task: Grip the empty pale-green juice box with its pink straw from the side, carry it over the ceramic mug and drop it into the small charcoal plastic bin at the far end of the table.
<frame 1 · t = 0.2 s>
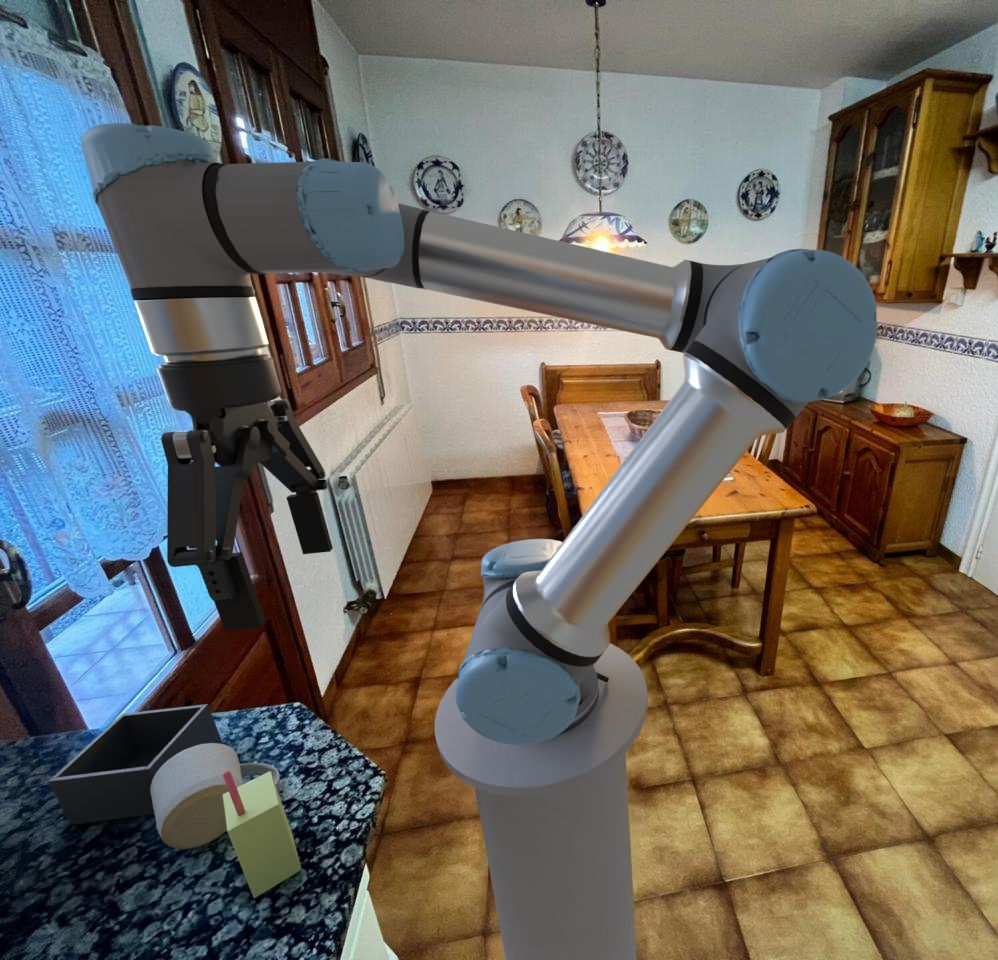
hand: (286, 584, 49), 29 cm above the worktop, tool pointing down, fingers open, 13 cm apart
juice box: (274, 864, 53), on the worktop
bin: (153, 781, 63), on the worktop
ceramic mug: (225, 811, 59), on the worktop
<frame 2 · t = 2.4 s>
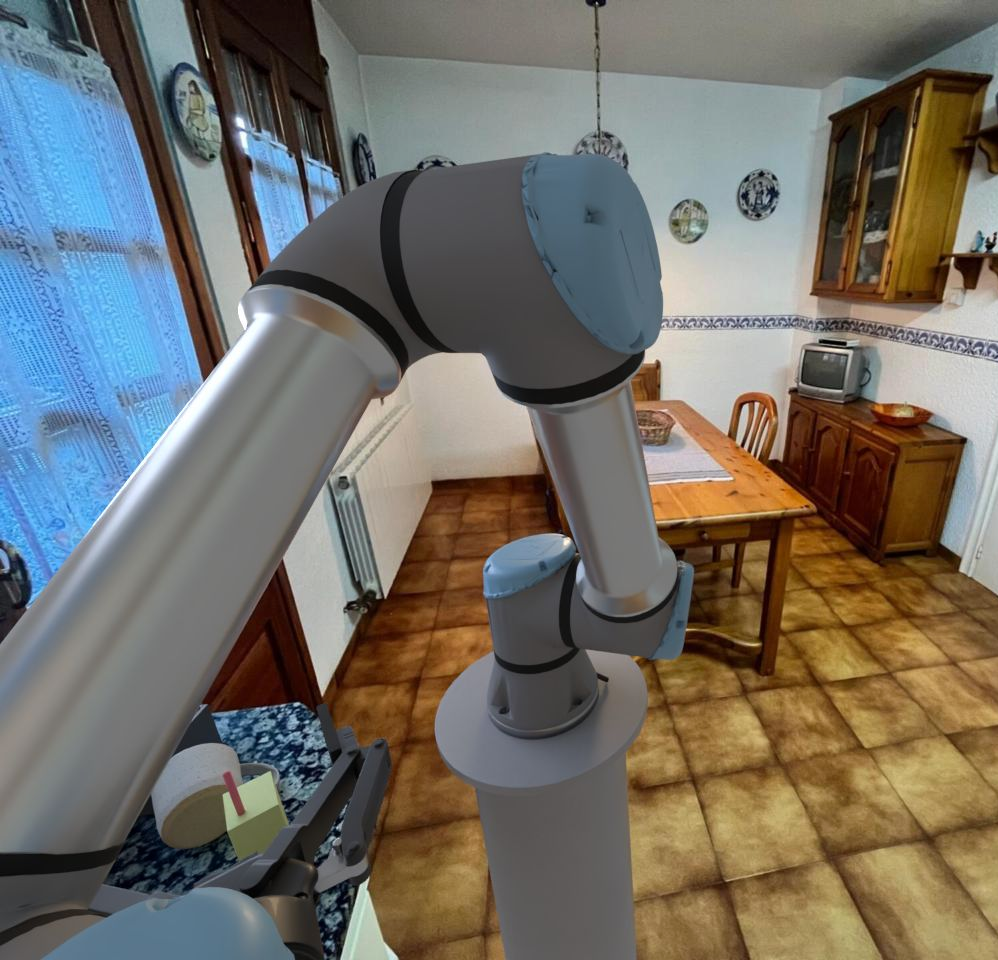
hand: (225, 758, 40), 21 cm above the worktop, tool horizontal, fingers open, 13 cm apart
nothing on the worktop moved.
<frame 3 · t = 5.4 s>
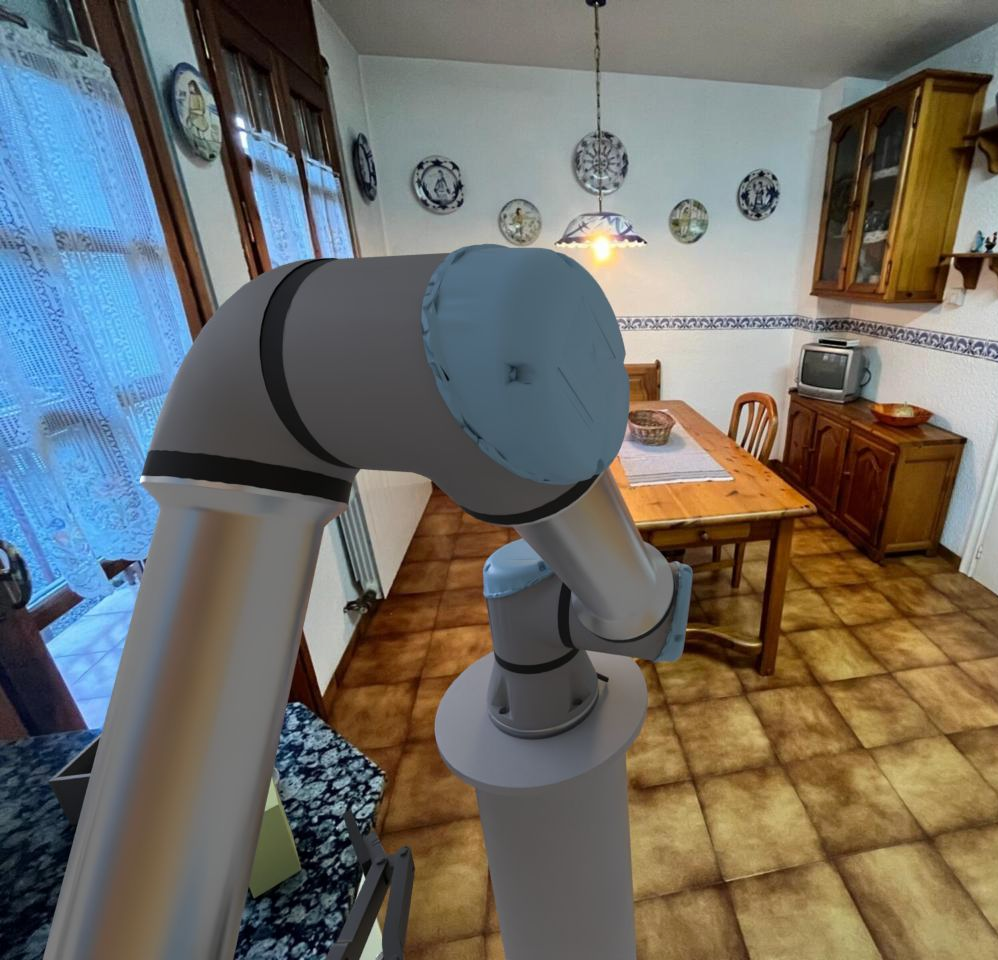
hand: (266, 870, 46), 6 cm above the worktop, tool horizontal, fingers open, 13 cm apart
nothing on the worktop moved.
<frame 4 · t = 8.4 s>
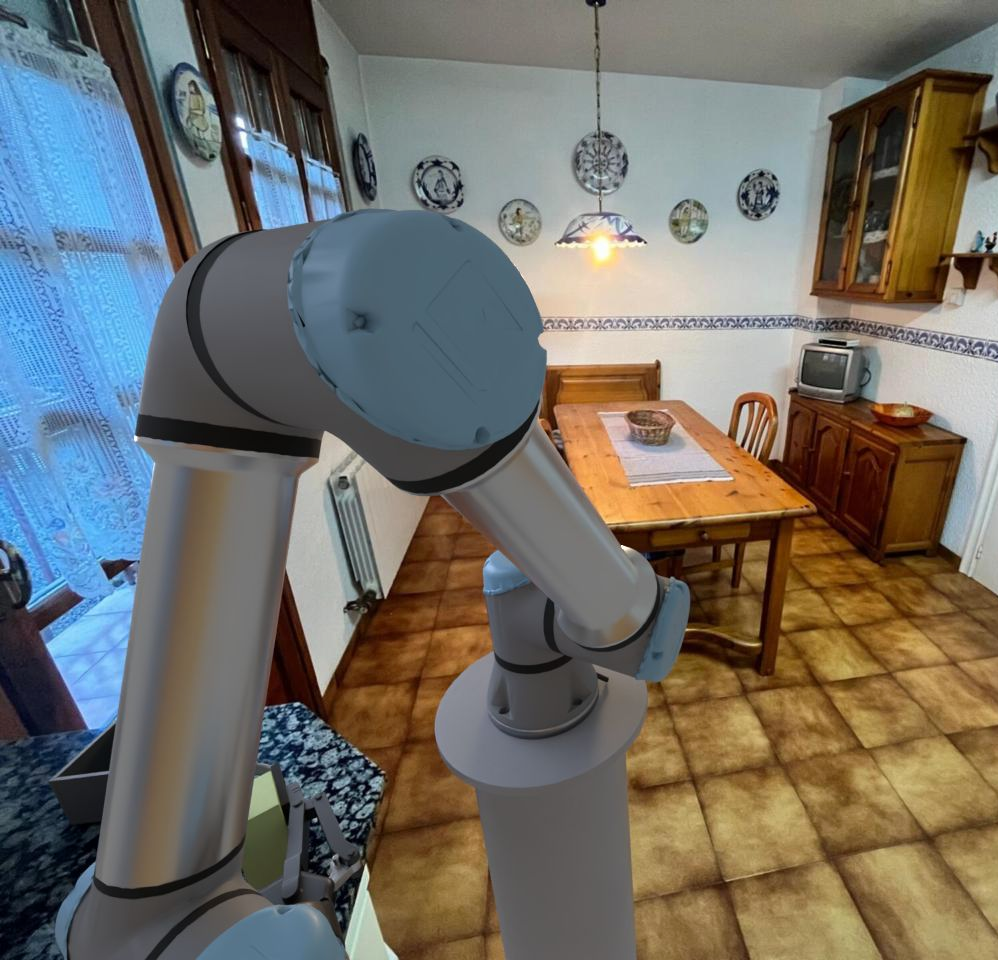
hand: (251, 786, 55), 6 cm above the worktop, tool horizontal, fingers closed on juice box, 4 cm apart
juice box: (274, 864, 53), on the worktop, touching gripper
everything else where it was.
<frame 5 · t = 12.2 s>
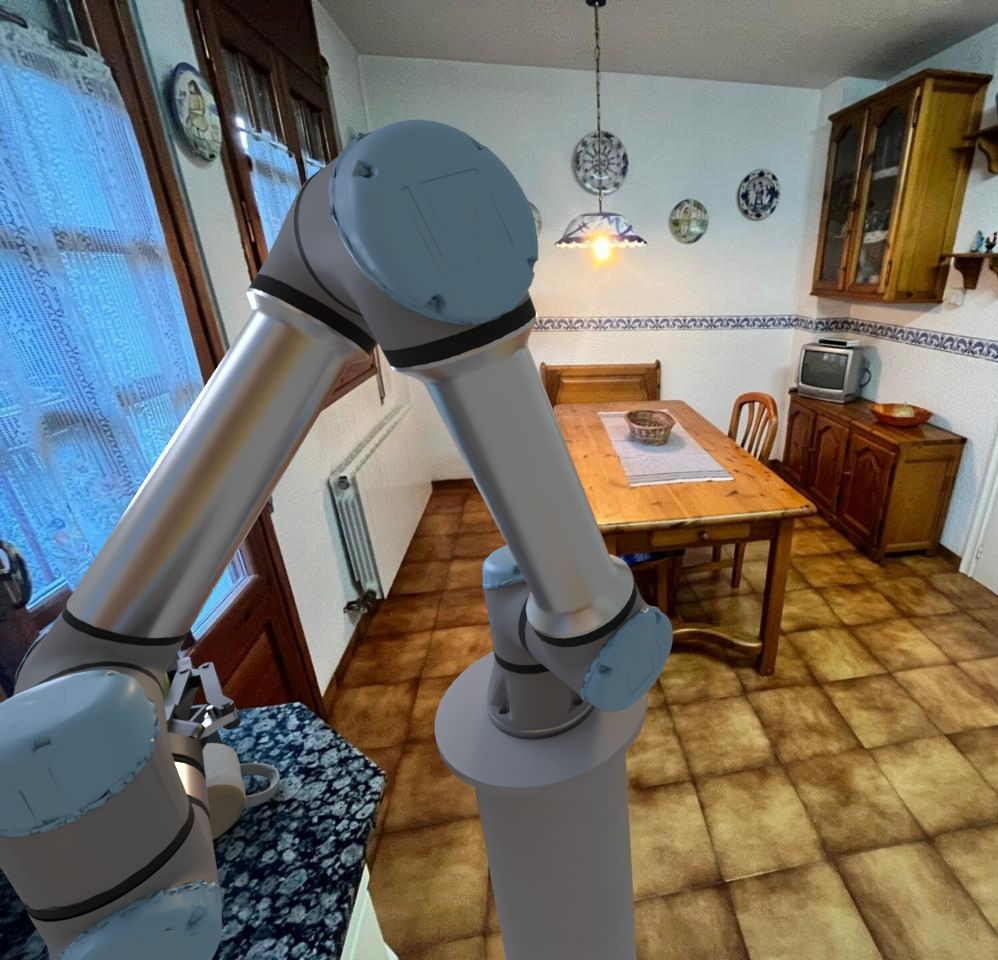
hand: (144, 663, 56), 18 cm above the worktop, tool horizontal, fingers closed on juice box, 4 cm apart
juice box: (163, 734, 55), point 12 cm above the worktop, touching gripper
everything else where it was.
when the fingers open (10 cm above the worktop, at t = 16.1 s): juice box drops 4 cm, resting on bin.
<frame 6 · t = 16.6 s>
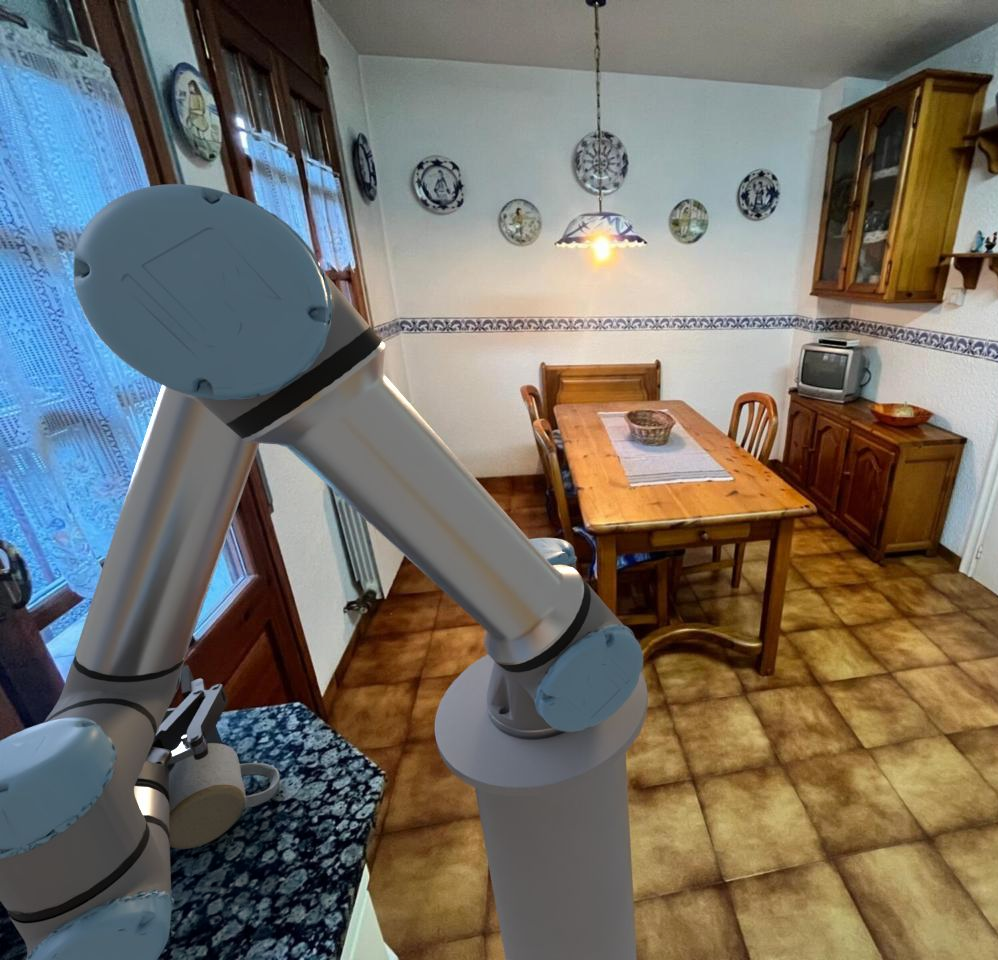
hand: (126, 697, 63), 10 cm above the worktop, tool horizontal, fingers open, 11 cm apart
juice box: (151, 778, 63), resting on bin
everything else where it was.
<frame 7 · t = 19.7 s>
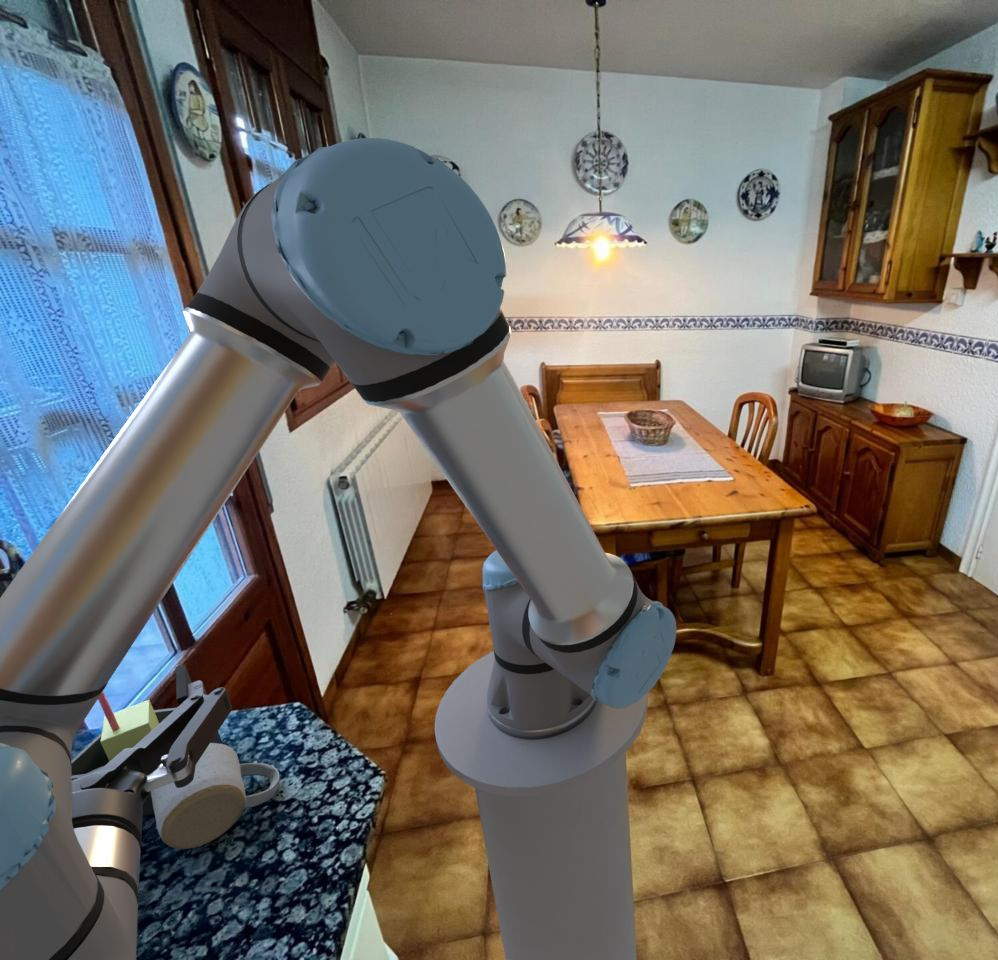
hand: (95, 708, 51), 17 cm above the worktop, tool horizontal, fingers open, 13 cm apart
nothing on the worktop moved.
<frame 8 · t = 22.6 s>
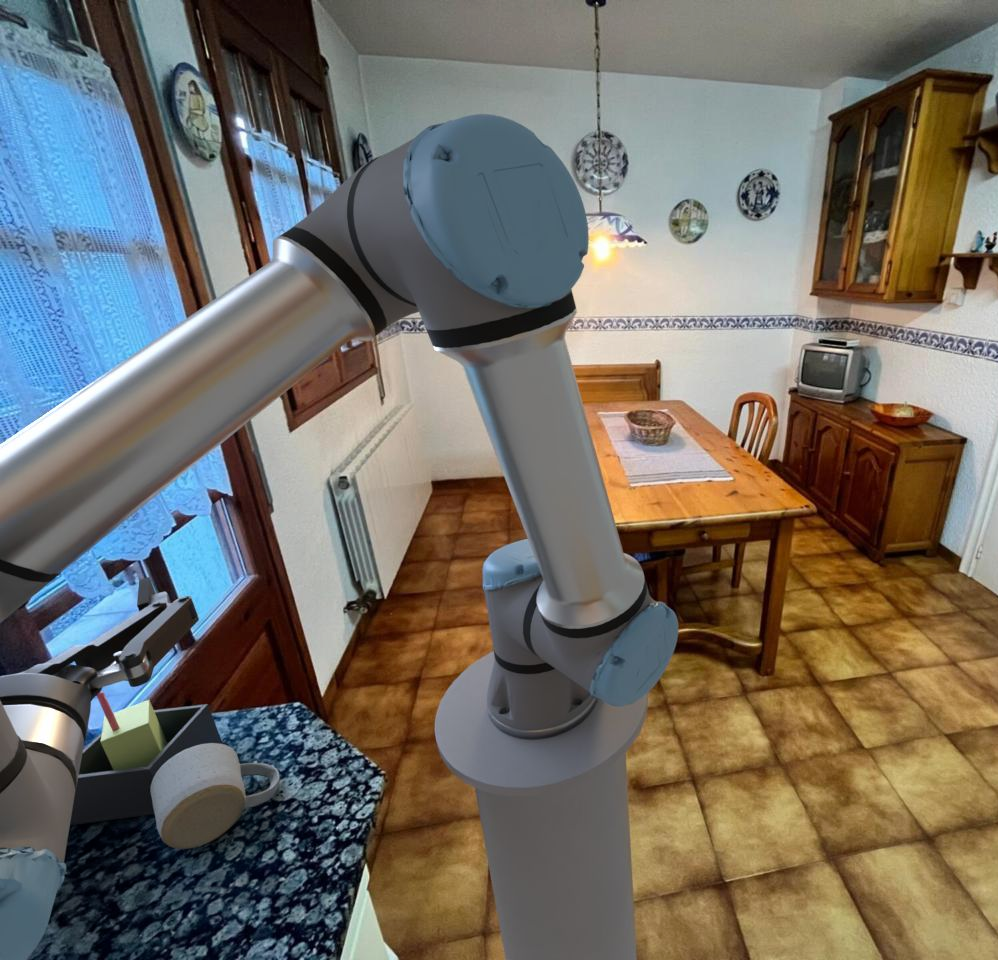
hand: (49, 617, 47), 28 cm above the worktop, tool horizontal, fingers open, 13 cm apart
nothing on the worktop moved.
at the end: juice box inside the target area in the bin (0.0 cm from its centre), point 0.5 cm above the bin's base; the gripper is holding nothing; ceramic mug moved 0.2 cm from its start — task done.
